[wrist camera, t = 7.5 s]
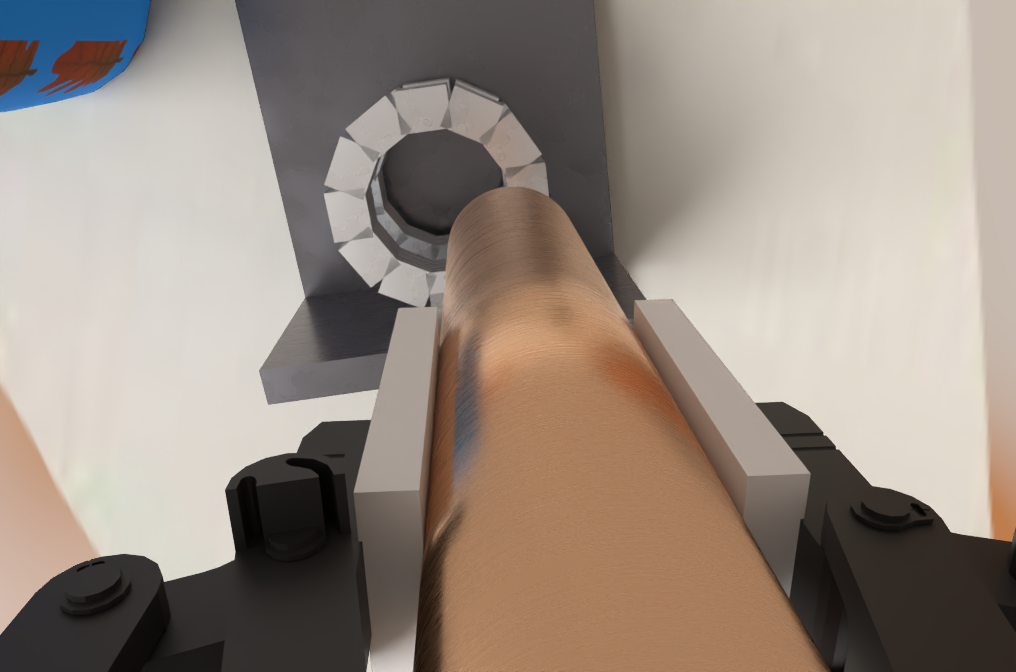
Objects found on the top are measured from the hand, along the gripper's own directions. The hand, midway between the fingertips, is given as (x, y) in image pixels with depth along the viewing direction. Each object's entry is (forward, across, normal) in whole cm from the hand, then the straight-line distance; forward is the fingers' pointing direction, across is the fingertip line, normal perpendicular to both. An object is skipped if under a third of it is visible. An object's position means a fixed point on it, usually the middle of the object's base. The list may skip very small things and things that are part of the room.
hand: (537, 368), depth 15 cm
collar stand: (+25, +2, 0) cm, 25 cm away
